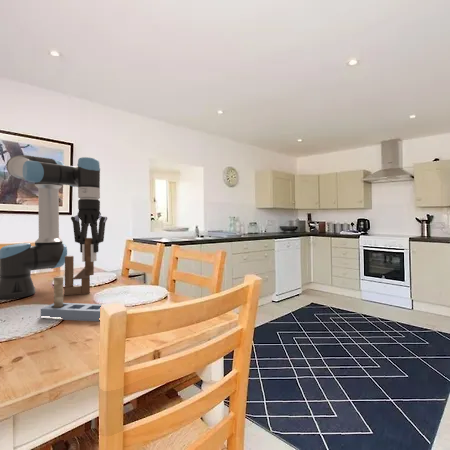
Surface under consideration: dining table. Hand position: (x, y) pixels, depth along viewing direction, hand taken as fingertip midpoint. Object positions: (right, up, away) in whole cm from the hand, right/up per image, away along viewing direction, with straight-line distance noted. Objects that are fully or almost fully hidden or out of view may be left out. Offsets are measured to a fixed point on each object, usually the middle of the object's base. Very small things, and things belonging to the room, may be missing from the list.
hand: (89, 261), depth 111 cm
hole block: (-3, -20, -4) cm, 20 cm away
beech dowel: (-10, -20, -3) cm, 22 cm away
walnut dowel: (0, -5, 0) cm, 5 cm away
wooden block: (-19, -19, +27) cm, 38 cm away
